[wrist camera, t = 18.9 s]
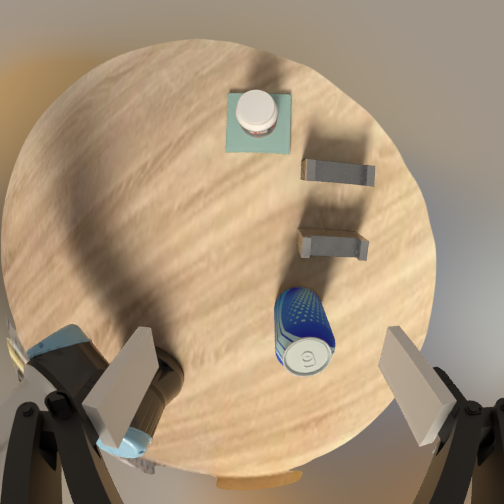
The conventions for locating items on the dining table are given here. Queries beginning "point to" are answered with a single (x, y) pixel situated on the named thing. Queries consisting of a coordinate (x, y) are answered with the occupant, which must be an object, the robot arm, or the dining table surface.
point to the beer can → (302, 332)
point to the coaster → (270, 144)
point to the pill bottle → (257, 113)
